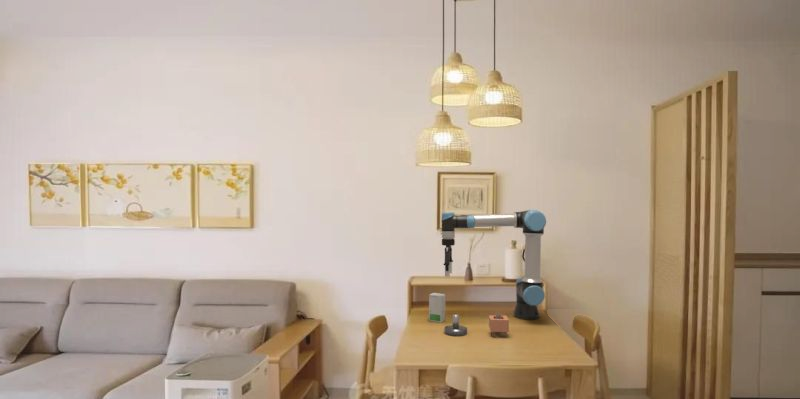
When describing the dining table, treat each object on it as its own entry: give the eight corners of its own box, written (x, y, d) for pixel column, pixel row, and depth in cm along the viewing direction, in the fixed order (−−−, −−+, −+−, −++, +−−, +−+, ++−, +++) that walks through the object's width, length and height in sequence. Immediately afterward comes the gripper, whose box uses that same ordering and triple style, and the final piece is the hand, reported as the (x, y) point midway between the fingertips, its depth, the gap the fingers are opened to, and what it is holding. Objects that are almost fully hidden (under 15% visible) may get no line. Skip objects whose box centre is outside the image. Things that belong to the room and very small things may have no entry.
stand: (504, 333, 222) (504, 314, 222) (506, 337, 215) (506, 317, 215) (491, 332, 222) (490, 313, 223) (492, 336, 215) (492, 317, 216)
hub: (466, 329, 228) (466, 312, 228) (468, 336, 216) (467, 318, 216) (444, 329, 229) (444, 311, 229) (444, 336, 217) (444, 317, 218)
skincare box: (428, 321, 247) (428, 294, 247) (432, 318, 252) (432, 292, 253) (441, 322, 243) (441, 295, 243) (446, 320, 248) (445, 293, 249)
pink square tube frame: (506, 327, 223) (506, 315, 223) (508, 332, 214) (508, 320, 214) (488, 326, 224) (488, 315, 224) (490, 331, 215) (490, 319, 215)
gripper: (444, 237, 260) (444, 271, 259) (439, 239, 236) (439, 278, 235) (456, 237, 258) (456, 271, 258) (452, 240, 234) (453, 278, 233)
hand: (448, 274), depth 246 cm, fingers open, 13 cm apart
